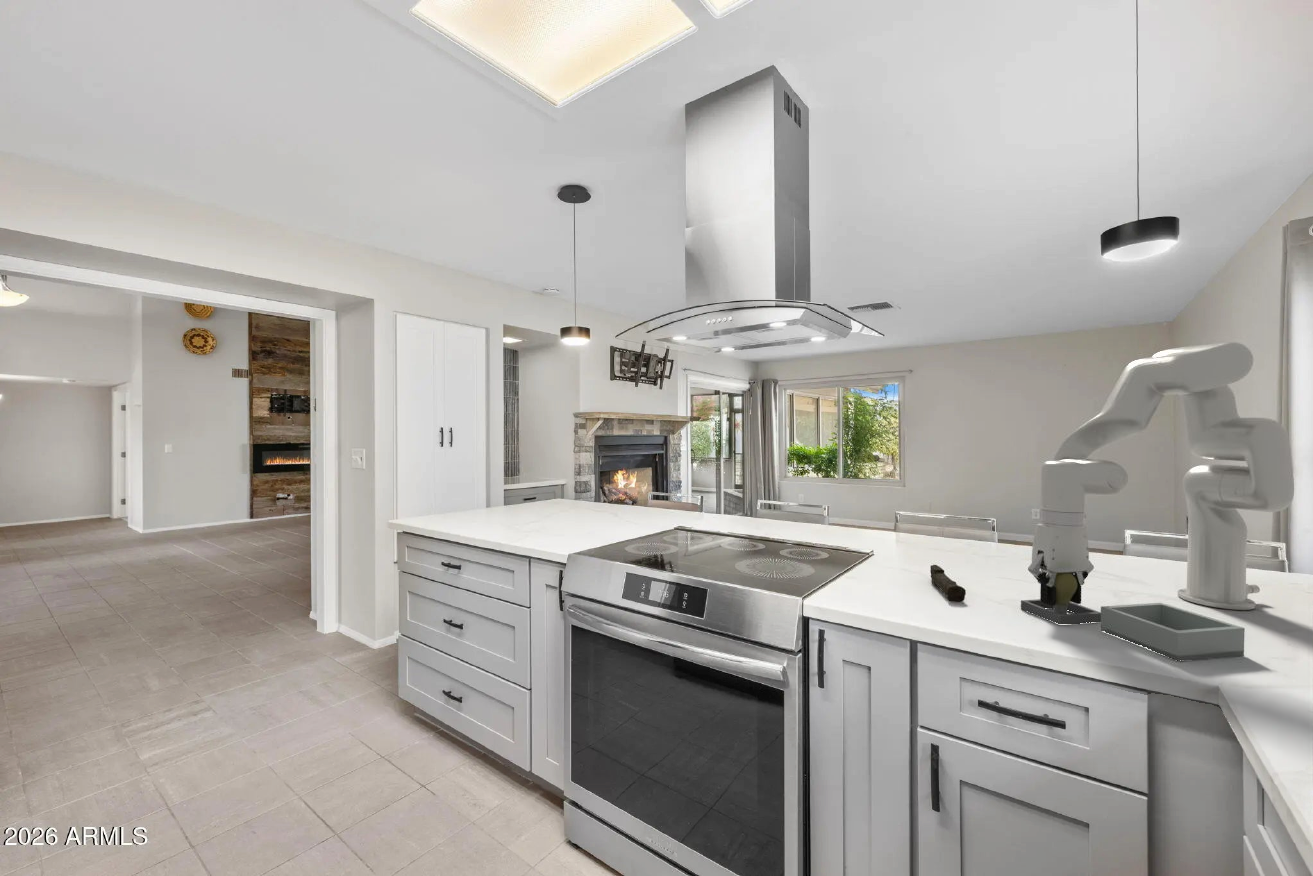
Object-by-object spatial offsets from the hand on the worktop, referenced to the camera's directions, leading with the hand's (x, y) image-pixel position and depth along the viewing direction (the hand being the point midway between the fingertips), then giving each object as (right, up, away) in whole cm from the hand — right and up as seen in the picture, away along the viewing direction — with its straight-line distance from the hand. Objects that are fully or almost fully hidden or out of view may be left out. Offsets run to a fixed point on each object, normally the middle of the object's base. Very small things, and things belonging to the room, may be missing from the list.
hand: (1060, 601), depth 118 cm
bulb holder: (0, -3, 0) cm, 3 cm away
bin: (+9, -3, -15) cm, 18 cm away
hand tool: (-16, -3, +19) cm, 25 cm away
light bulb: (0, -3, 0) cm, 3 cm away
